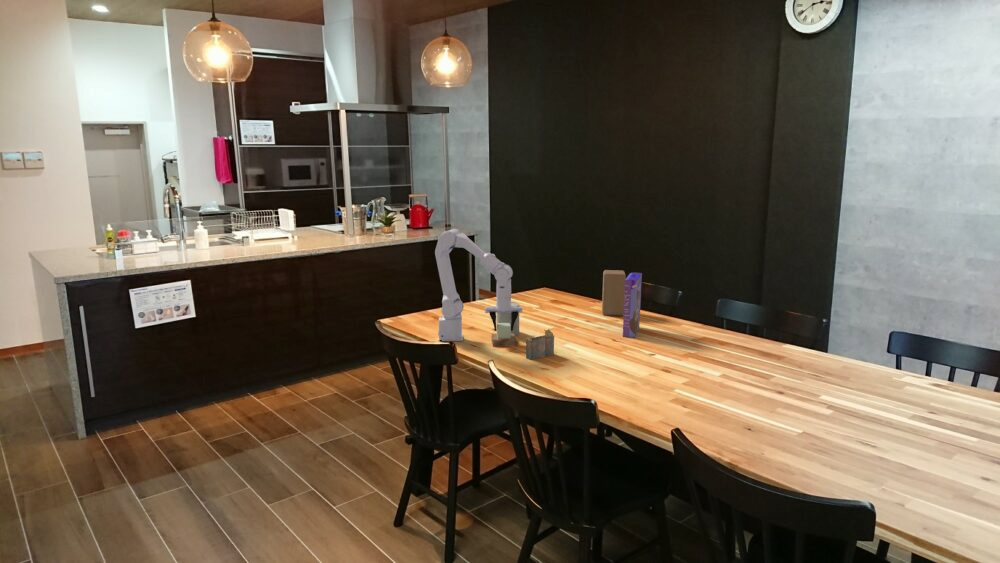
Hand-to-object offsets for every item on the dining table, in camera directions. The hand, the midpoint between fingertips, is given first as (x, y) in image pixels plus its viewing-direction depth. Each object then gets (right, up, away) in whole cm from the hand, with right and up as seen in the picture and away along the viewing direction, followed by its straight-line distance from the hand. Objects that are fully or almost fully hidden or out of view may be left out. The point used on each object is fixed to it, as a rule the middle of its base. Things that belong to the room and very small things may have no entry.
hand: (503, 330), depth 248 cm
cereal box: (+54, -2, +17) cm, 57 cm away
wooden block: (+52, +4, +49) cm, 71 cm away
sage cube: (0, -3, 0) cm, 3 cm away
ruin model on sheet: (+13, -9, -16) cm, 22 cm away
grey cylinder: (+2, -3, +15) cm, 15 cm away
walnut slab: (0, -5, +1) cm, 5 cm away
